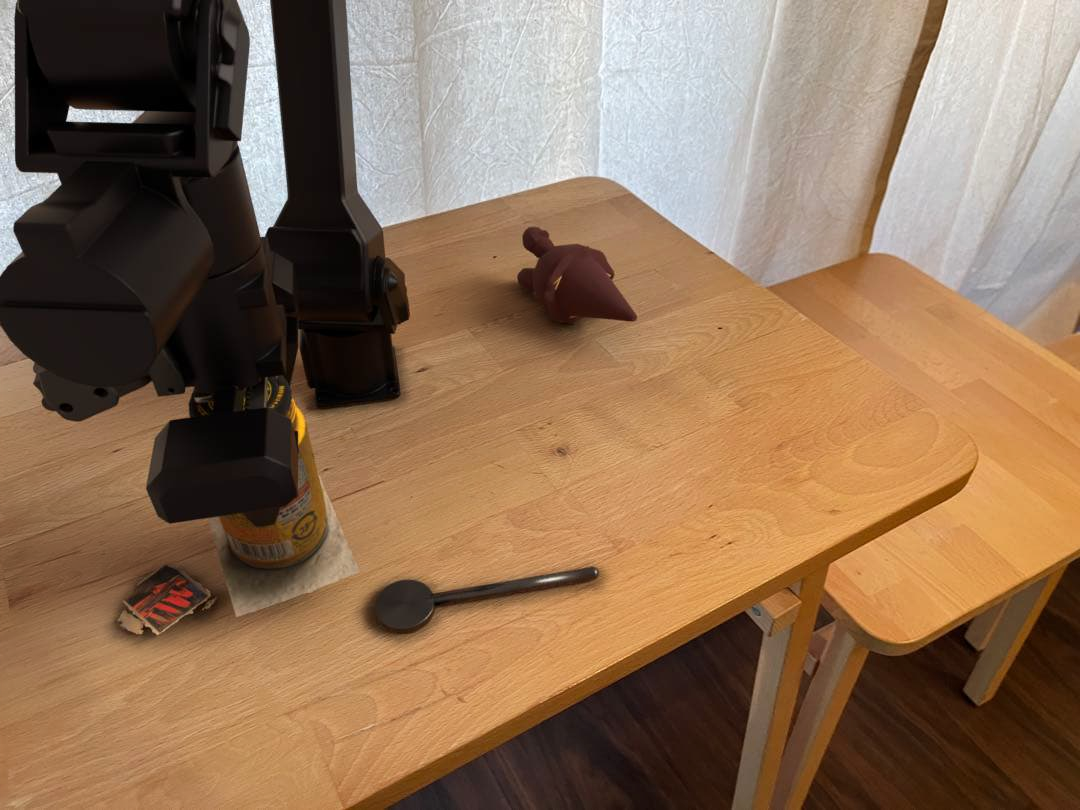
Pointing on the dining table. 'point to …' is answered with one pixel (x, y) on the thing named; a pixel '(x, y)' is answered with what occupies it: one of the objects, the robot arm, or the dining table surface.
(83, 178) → the robot arm
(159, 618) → the torn cardboard piece
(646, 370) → the dining table surface
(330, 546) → the condiment
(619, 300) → the brown gnome figurine
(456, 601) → the steel spoon
